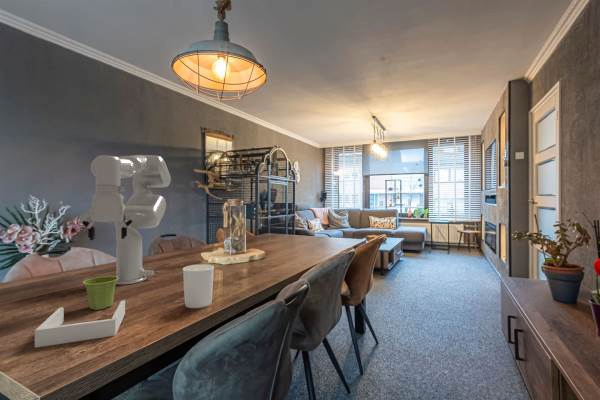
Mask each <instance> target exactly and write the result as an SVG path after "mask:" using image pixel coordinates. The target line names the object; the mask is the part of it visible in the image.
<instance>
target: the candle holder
mask: <svg viewBox="0 0 600 400" xmlns="http://www.w3.org/2000/svg"><path fill="white" fill-rule="evenodd" d="M214 272H215V266H214V265H212V264H207V263H205V264H204V263H203V264H191V265H187V266H185V267H183V268H182V275H183V277H182V278H183V292H184V293H183V294H184V295H183V296H184V305H185V307H186V308H189V309H201V308H205V307H209V306H210V305H211V304H212V301H213V286H214Z"/></svg>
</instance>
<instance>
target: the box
mask: <svg viewBox="0 0 600 400" xmlns="http://www.w3.org/2000/svg"><path fill="white" fill-rule="evenodd" d="M64 312H65V309H64V307H59V308H57V309H56V310H55V311H54V312H53V313H52V314H51V315H50V316H49V317H48V318H46V319H45V321H43V322H42V323H41V324H40V325H38V327H37V328H36V329H35V330H34V348H42V347H48V346H49V347H50V346H54V345H55V346H56V345H61V344H69V343H74V342H81V341H87V340H96V339H102V338H108V337H113V336H114V337H115V336H116V335H117V332H118V330H119V328H120V326H121V323H122V322H123V319H124V317H125V314H126V300H125V299H124V300H120V302H119V304H118V306H117V308H116V310H115V311H114V313H113V315H112V317H111V318H107V319H102V320H99V319H98V320H93V321H86V322H77V323H70V324H69V323H68V324H63V323H64V322H65V320H64V319H65V317H64V314H65V313H64Z"/></svg>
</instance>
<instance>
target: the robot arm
mask: <svg viewBox="0 0 600 400" xmlns="http://www.w3.org/2000/svg"><path fill="white" fill-rule="evenodd" d="M90 171H91V173H92V175H93V176H94V177H95V194H92V199H91V203H90V204H91V205H90V210H89V211H87V212H85V213H83V214H81V215H79V216H78V219H79V220H80V222H81V224H82V225H83V226H85V227H86V228H87V230H88V231H87V232H88V233H87V236H88V238H89V241H93V240H95V239H96V238H95V237H96V229H95V226H96V224H101V223H104V224H105V223H106V224H107V223H110V224H111V223H114V226H115V237H116V241H115V242H116V244H115V246H116V247H115V248H116V254H115V255H116V256H115V260H116V261H115V266H116V267H115V269H116V270H115V271H116V275H115V276H116V277H118V280H117V282H116V285H118V286H119V285H130V284H131V285H132V284H137V283H142V282H143V281H145V280H147V276H153V275H155V271H154V270H152V269H148V270H145V268H144V267H143V237H142V235H141V233H140V232H139V231H138V230H137V229H153V228H156V227H158V226H159V225H160V223H161V221H162V218H163V216H164V215H165V212H166V208H167V201H166V199H165V197H164V196H162V195H160V194H154V193H153V192H152V190H150V188H167V187H169V186H170V184H171V180H172V179H171V174H170V172H169V169H168V166H167V164H166V162H165V160H164V158H163V157H162V156H159V155H154V154H153V155H152V154H136V155H135V154H134V155H123V156H122V155H121V156H115V155H98V156H96V157H95V158H94V159H93V160H92V162H91V163H90ZM129 178H132V180H131V181H132V190H133V194H132V195H131V197H130V198H129V199H128V200H127V203H126V202H125V197H124V194H122V193H123V192H126V188H125V187H123V186H121V184H122V183H121V182H122V180H121V179H129ZM125 203H126V204H125ZM87 217H89V219H90V222H89V221H87V220H86V218H87Z"/></svg>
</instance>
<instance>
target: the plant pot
mask: <svg viewBox="0 0 600 400" xmlns="http://www.w3.org/2000/svg"><path fill="white" fill-rule="evenodd" d="M117 280H118V277H116V275H115V276H113V275H108V276H107V275H105V276H97V277H93V278H92V277H91V278H89V279H85V280H83V282H82V283H83V285H84V288H85V289H86V294H87V300H88V306H89V310H94V311H99V310H105V309H107V307H109V308H110V307H112V306H113V304H114V296H115V289H116V285H117V284H116V282H117Z"/></svg>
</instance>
